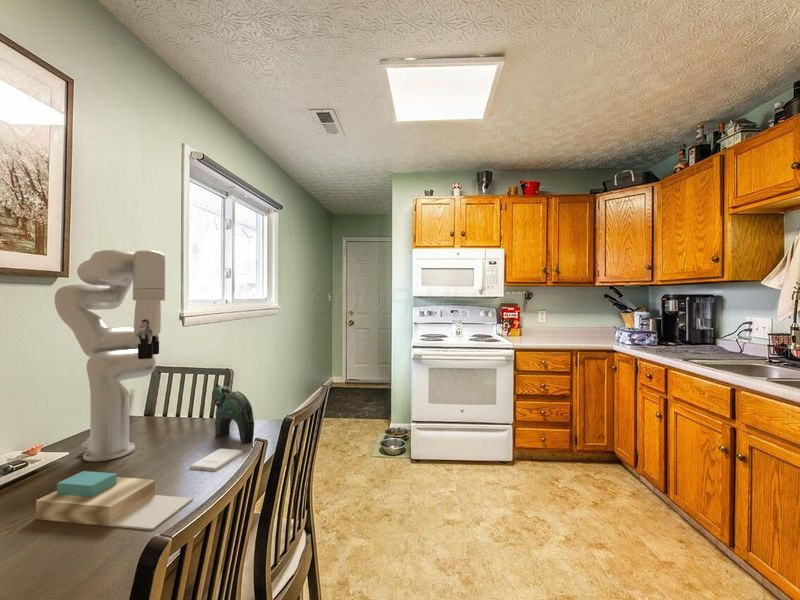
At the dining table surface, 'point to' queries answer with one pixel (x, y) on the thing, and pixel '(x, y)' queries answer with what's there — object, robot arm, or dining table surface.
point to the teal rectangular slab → (86, 483)
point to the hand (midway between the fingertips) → (149, 356)
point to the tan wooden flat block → (96, 503)
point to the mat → (152, 512)
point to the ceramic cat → (233, 412)
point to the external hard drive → (216, 459)
